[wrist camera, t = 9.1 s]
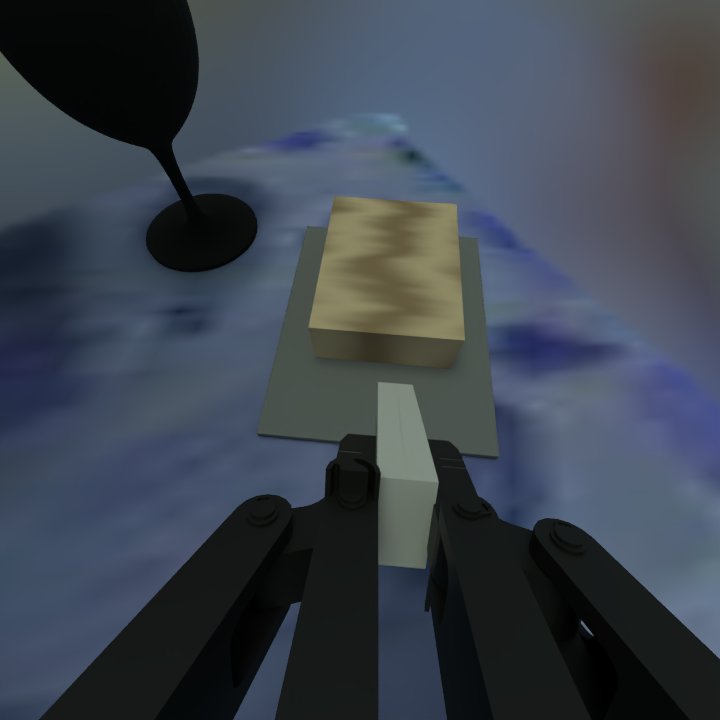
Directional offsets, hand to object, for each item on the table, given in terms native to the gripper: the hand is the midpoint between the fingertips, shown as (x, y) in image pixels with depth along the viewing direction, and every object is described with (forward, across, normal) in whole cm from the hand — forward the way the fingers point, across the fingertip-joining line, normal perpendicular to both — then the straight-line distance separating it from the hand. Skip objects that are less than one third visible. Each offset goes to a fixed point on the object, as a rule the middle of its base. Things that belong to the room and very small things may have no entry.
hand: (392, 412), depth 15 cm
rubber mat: (+13, 0, +1) cm, 13 cm away
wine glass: (+20, -18, +8) cm, 28 cm away
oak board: (+9, 0, 0) cm, 9 cm away
